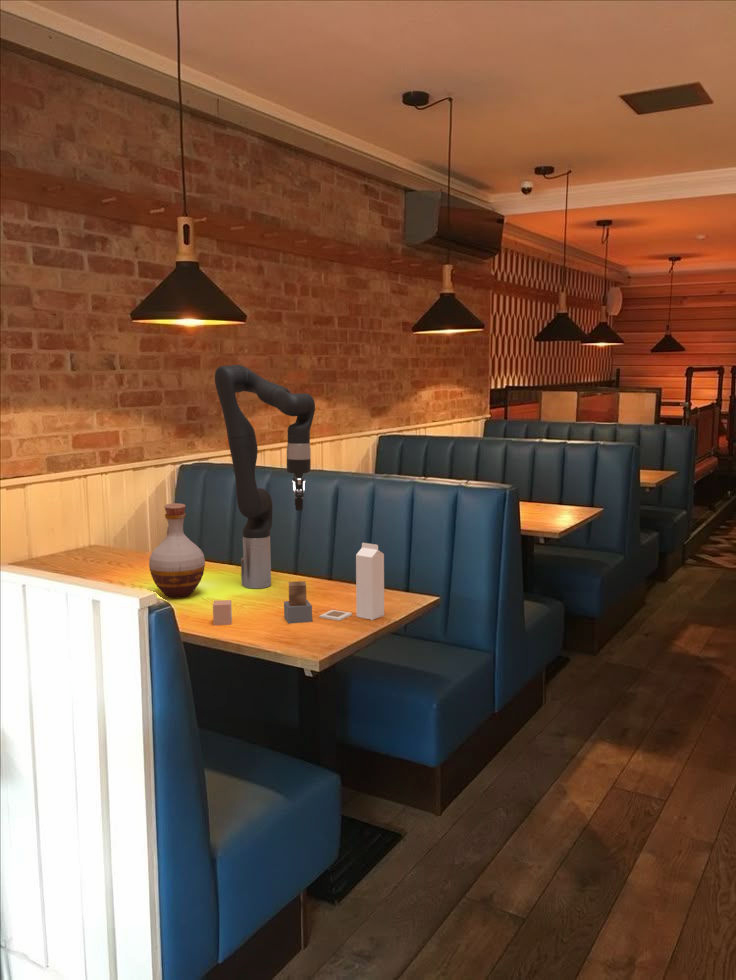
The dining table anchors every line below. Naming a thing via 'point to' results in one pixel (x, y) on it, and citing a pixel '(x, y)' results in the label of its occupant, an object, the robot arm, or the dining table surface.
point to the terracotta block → (222, 612)
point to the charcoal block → (297, 613)
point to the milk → (369, 582)
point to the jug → (176, 558)
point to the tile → (335, 615)
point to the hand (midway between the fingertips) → (298, 508)
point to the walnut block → (297, 593)
